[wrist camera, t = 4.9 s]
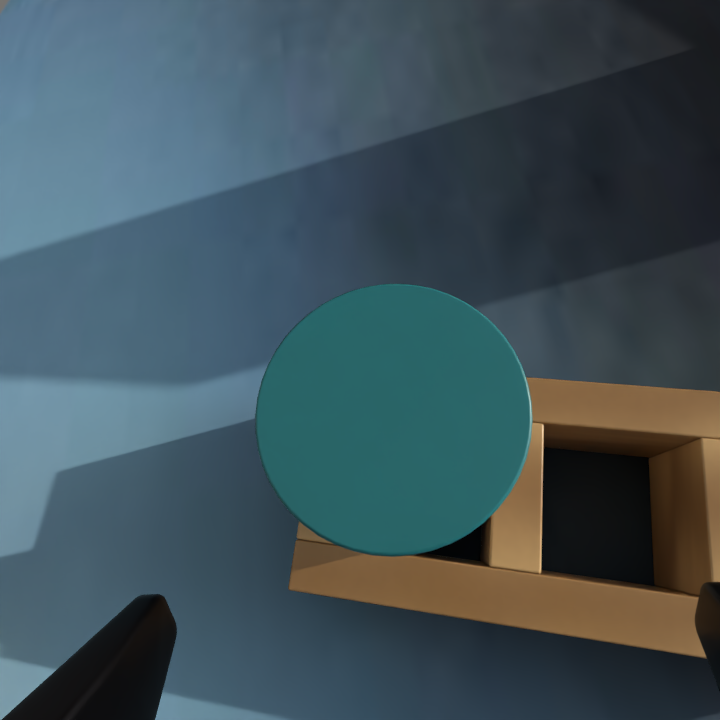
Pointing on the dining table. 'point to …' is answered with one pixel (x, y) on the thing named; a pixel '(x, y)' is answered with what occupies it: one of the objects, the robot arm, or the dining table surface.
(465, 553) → the dining table surface
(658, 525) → the tube rack
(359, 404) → the test tube
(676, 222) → the dining table surface
